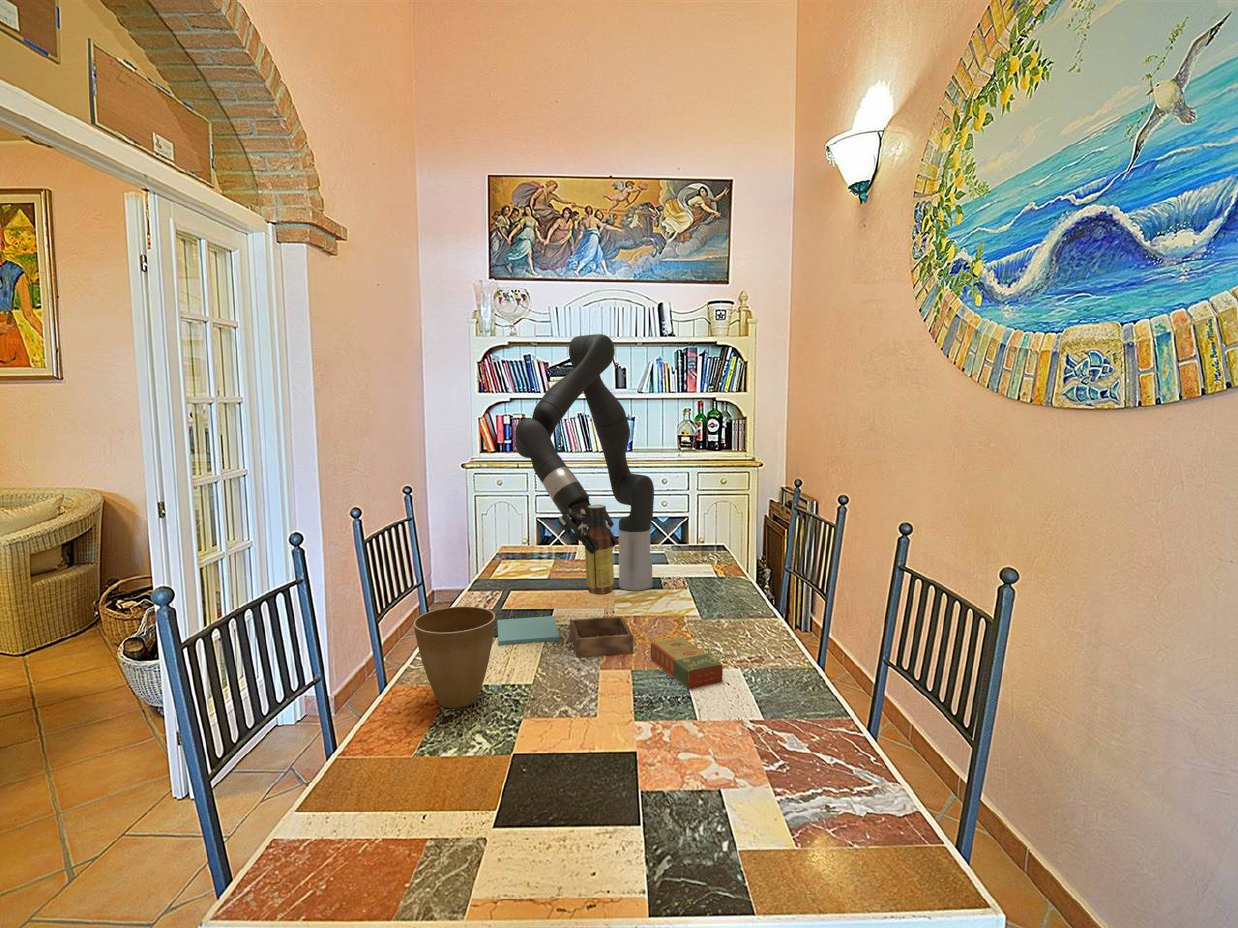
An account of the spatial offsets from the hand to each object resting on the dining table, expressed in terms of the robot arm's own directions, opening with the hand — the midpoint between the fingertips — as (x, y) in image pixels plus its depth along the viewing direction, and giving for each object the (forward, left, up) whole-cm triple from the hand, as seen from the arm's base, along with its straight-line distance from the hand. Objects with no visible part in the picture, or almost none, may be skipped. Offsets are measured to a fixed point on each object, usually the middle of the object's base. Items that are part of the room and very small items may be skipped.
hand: (604, 548), depth 150 cm
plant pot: (+32, +20, -23) cm, 44 cm away
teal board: (+17, -12, -23) cm, 31 cm away
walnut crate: (+1, -1, -23) cm, 23 cm away
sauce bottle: (+1, -1, -11) cm, 11 cm away
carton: (-14, +16, -23) cm, 32 cm away
